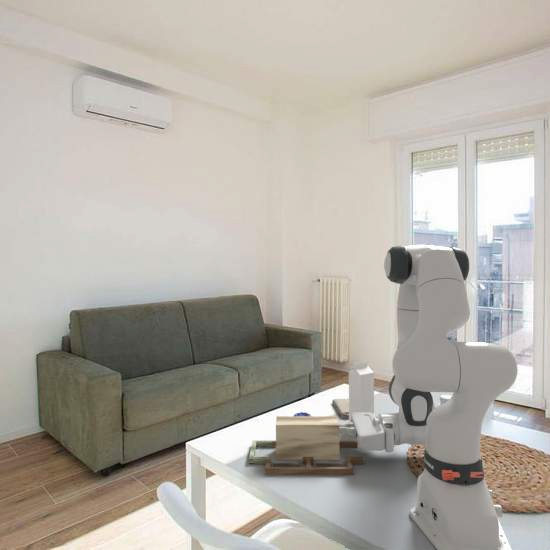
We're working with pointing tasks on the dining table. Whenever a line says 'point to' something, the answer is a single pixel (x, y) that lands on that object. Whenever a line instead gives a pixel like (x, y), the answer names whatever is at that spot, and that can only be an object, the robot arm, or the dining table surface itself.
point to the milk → (361, 389)
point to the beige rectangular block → (307, 437)
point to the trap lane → (305, 462)
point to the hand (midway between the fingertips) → (338, 429)
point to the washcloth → (342, 407)
